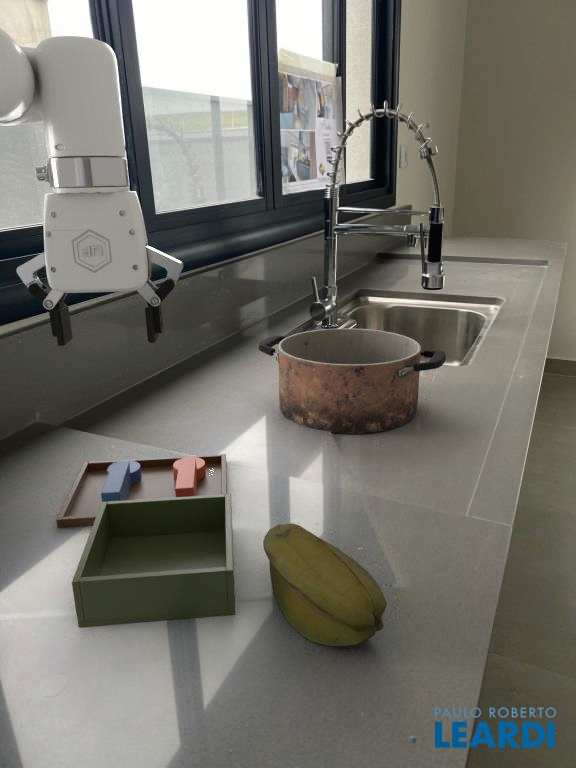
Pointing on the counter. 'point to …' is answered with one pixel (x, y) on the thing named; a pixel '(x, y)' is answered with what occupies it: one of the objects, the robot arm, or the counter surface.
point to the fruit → (322, 588)
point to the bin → (157, 561)
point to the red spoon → (188, 475)
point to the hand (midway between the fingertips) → (109, 341)
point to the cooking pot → (349, 378)
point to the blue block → (120, 480)
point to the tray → (135, 486)
